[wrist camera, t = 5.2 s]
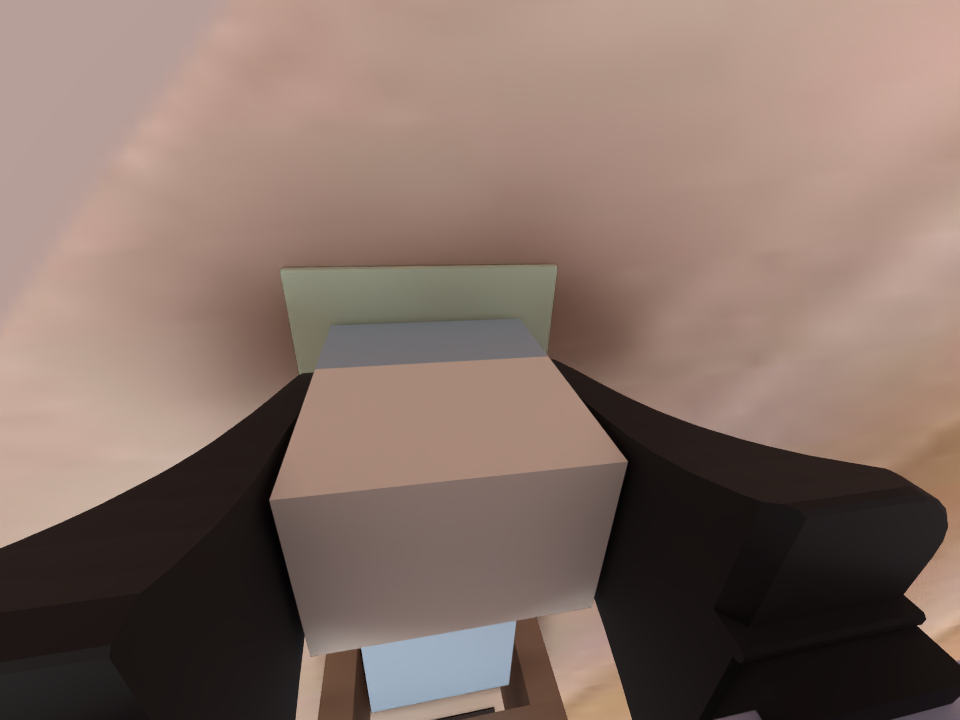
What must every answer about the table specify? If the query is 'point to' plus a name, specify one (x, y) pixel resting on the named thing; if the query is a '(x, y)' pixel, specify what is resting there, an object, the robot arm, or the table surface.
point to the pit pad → (471, 715)
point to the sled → (440, 502)
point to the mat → (413, 299)
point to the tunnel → (527, 716)
